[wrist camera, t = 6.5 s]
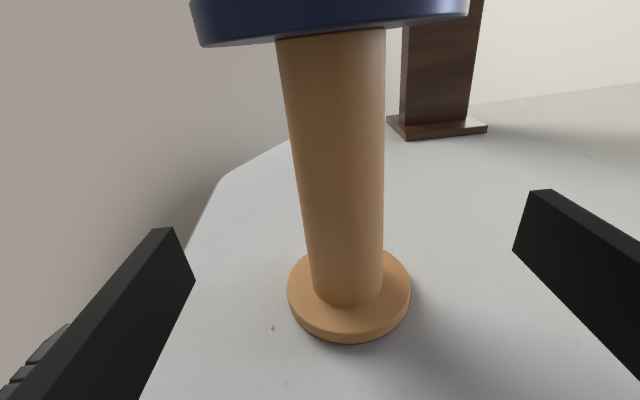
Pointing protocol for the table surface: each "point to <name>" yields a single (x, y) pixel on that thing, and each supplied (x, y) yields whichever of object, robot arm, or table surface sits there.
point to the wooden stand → (438, 78)
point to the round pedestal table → (333, 146)
